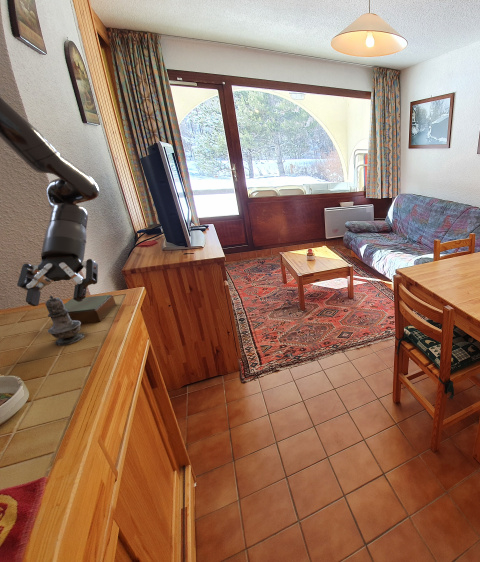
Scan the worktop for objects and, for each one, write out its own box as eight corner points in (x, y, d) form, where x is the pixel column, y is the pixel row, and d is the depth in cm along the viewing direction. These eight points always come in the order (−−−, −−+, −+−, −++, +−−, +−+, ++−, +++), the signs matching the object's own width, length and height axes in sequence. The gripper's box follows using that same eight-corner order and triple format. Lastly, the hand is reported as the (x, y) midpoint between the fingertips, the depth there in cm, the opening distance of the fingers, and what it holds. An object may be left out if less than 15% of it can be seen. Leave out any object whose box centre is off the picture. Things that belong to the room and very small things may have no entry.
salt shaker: (47, 344, 74) (25, 299, 69) (74, 331, 79) (55, 288, 75) (65, 347, 73) (44, 302, 68) (91, 334, 78) (74, 291, 73)
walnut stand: (54, 326, 81) (49, 314, 80) (75, 309, 90) (70, 298, 88) (100, 321, 84) (95, 309, 83) (116, 305, 93) (112, 293, 91)
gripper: (17, 237, 73) (3, 301, 67) (90, 233, 77) (82, 293, 71) (41, 251, 80) (29, 311, 74) (107, 247, 84) (101, 304, 78)
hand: (55, 302), depth 73 cm, fingers open, 8 cm apart
